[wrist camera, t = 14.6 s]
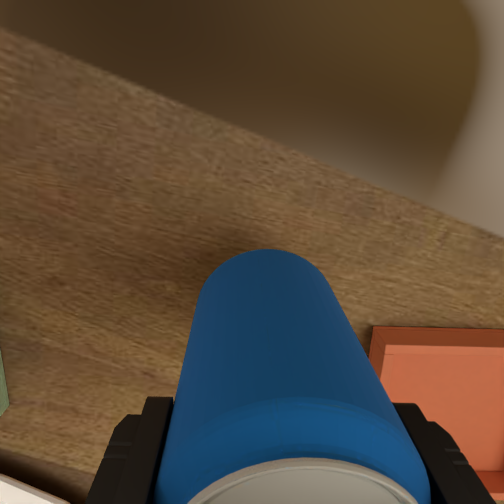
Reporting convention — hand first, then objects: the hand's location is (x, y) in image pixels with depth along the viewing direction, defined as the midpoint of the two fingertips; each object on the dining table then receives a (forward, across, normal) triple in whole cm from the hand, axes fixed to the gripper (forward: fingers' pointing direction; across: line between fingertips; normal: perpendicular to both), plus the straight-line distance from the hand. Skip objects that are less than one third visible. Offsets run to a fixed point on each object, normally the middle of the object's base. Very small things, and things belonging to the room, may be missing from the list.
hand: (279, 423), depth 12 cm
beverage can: (+8, 0, 0) cm, 8 cm away
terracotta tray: (+12, -13, +8) cm, 19 cm away
